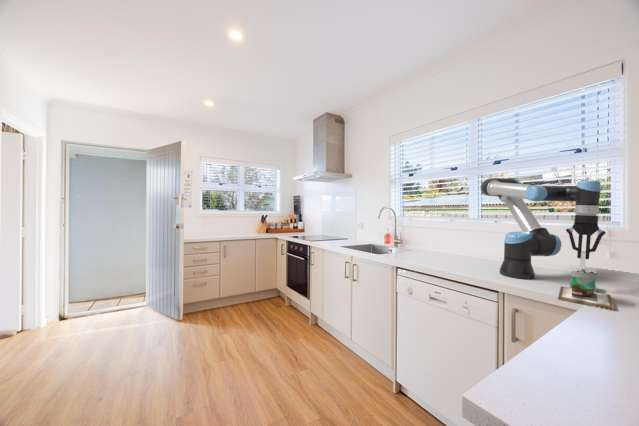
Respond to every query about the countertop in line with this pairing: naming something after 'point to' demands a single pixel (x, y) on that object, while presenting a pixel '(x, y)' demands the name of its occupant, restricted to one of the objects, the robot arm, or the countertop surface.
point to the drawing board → (587, 299)
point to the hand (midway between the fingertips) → (582, 265)
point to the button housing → (571, 285)
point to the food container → (583, 282)
